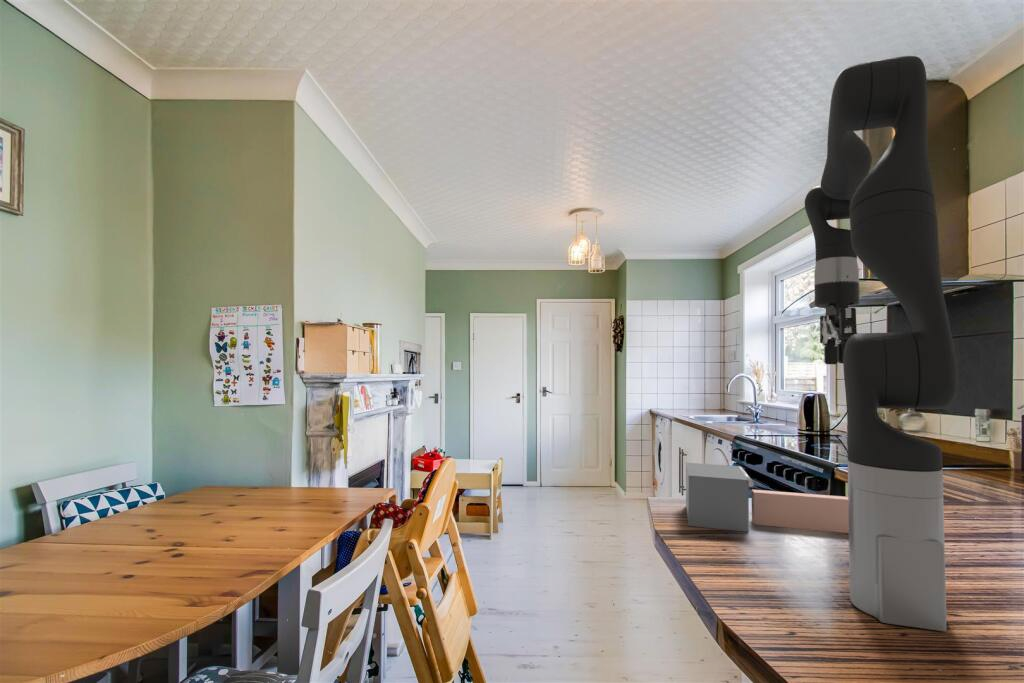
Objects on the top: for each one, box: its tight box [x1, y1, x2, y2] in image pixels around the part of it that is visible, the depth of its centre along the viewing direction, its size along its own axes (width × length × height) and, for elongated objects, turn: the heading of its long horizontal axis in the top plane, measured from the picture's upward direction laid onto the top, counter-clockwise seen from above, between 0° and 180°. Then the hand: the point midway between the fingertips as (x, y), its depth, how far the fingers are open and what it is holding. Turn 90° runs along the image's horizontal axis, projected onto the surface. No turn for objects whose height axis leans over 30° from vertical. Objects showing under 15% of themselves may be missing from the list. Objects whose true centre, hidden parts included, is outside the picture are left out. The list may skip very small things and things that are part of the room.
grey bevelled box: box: [685, 462, 755, 533], centre depth 97 cm, size 14×11×9 cm
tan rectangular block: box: [751, 489, 849, 534], centre depth 93 cm, size 2×16×6 cm, turn 74°
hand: (837, 363), depth 101 cm, fingers open, 8 cm apart
